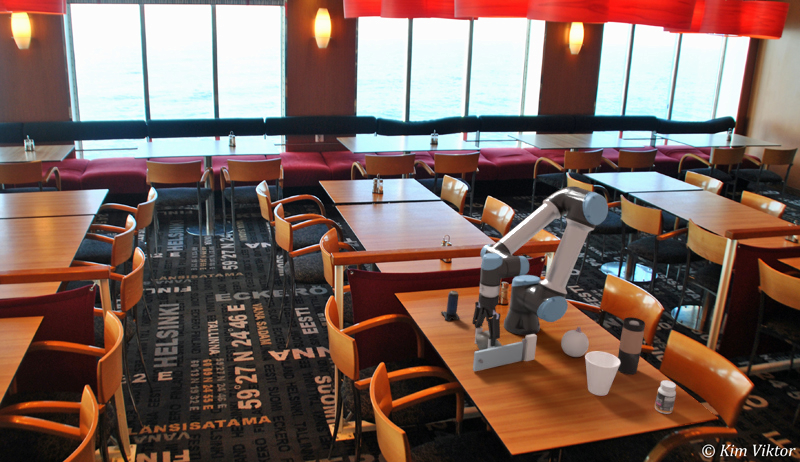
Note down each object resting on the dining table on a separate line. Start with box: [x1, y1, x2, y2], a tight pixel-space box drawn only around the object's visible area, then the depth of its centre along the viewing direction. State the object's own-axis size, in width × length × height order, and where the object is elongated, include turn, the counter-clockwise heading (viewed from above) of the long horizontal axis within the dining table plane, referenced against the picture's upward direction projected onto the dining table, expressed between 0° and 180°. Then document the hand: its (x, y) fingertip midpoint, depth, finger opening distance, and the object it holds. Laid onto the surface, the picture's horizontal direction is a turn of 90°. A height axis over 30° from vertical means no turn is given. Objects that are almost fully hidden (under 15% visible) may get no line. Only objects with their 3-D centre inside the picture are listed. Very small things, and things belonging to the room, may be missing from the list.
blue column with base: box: [440, 290, 461, 322], centre depth 274 cm, size 9×8×12 cm
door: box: [472, 338, 526, 372], centre depth 234 cm, size 23×3×8 cm, turn 117°
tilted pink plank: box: [524, 334, 538, 362], centre depth 240 cm, size 4×2×10 cm, turn 117°
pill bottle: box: [654, 379, 677, 415], centre depth 210 cm, size 6×6×10 cm
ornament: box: [560, 326, 590, 358], centre depth 245 cm, size 10×10×12 cm
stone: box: [474, 330, 503, 351], centre depth 244 cm, size 9×9×10 cm
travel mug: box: [617, 316, 646, 375], centre depth 234 cm, size 8×8×20 cm
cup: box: [584, 350, 621, 397], centre depth 220 cm, size 12×12×12 cm
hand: (484, 347), depth 245 cm, fingers closed on stone, 8 cm apart
